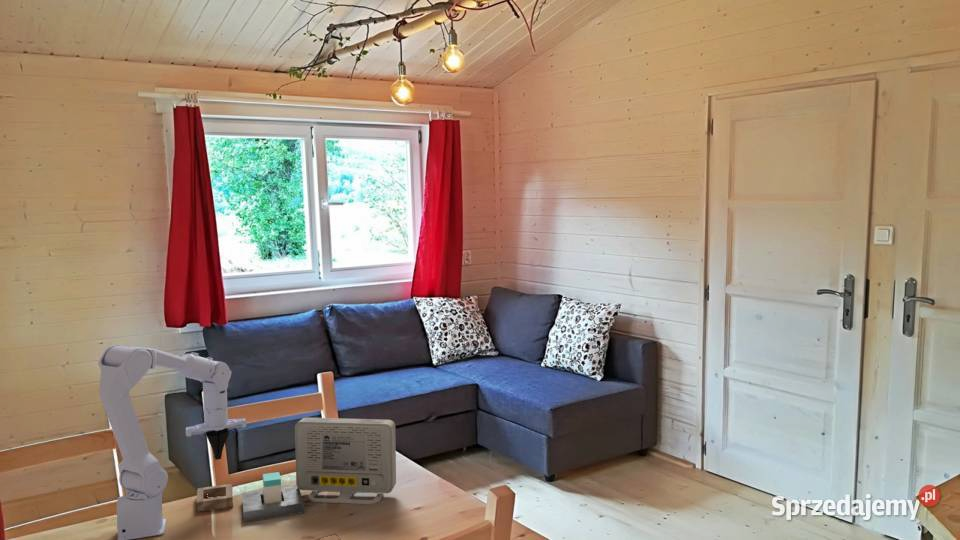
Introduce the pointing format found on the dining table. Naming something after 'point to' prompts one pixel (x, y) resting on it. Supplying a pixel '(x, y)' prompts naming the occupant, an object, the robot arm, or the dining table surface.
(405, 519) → the dining table surface
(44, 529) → the dining table surface
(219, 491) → the frame
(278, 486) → the plug
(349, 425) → the network device
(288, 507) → the port
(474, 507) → the dining table surface
